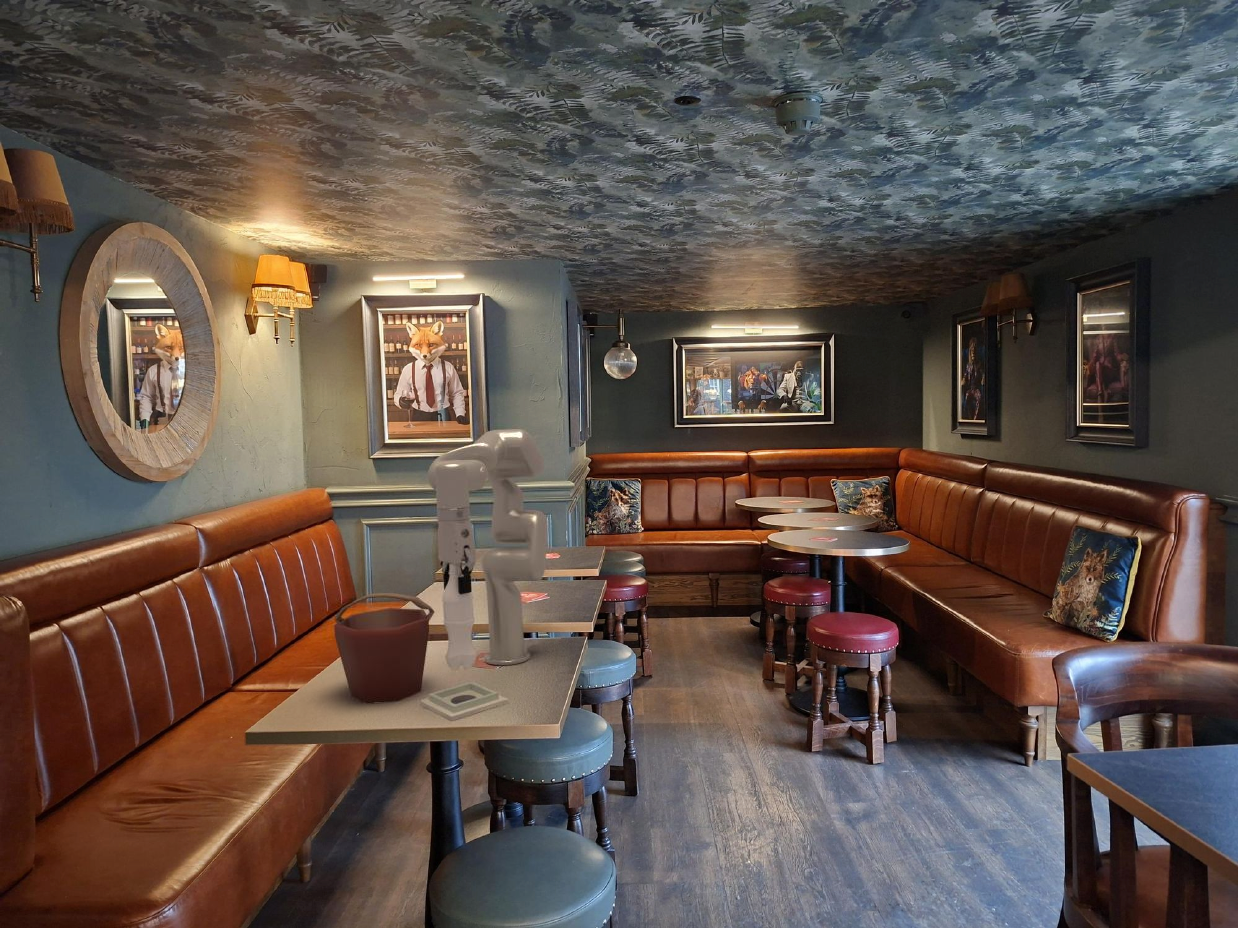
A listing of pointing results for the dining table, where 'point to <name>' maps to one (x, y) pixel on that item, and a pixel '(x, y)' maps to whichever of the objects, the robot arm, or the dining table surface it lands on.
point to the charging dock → (462, 701)
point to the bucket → (384, 649)
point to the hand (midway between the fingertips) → (457, 590)
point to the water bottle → (458, 623)
